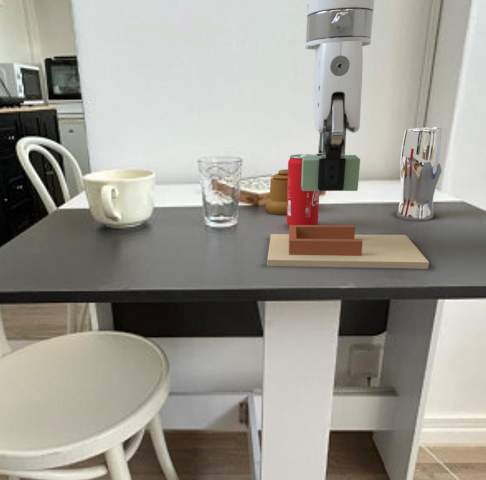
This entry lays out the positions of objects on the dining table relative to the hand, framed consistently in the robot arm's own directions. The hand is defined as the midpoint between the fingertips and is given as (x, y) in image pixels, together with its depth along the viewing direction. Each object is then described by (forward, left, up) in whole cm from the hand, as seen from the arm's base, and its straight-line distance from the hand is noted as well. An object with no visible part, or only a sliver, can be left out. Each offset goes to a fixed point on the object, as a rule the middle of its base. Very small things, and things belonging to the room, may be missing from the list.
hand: (328, 185), depth 59 cm
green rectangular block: (0, 0, 0) cm, 0 cm away
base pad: (-2, 0, -10) cm, 10 cm away
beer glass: (-17, -21, -10) cm, 29 cm away
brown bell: (+6, -25, -10) cm, 27 cm away
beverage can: (+3, -13, -10) cm, 16 cm away
